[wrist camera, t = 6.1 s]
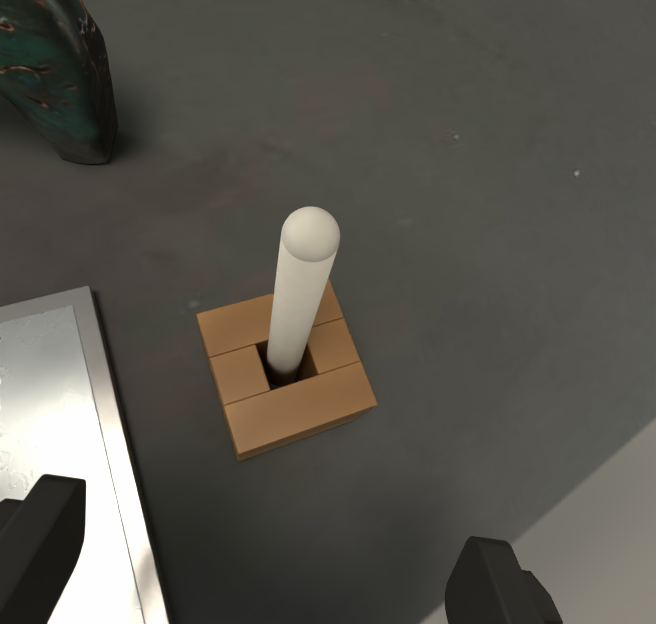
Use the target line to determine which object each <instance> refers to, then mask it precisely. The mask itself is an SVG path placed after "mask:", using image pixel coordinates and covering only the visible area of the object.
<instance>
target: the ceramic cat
mask: <svg viewBox="0 0 656 624" xmlns="http://www.w3.org/2000/svg"><path fill="white" fill-rule="evenodd" d="M0 94H1V95H2V96H4V97H5V98H6V99H7V100H9V101H10V102H11V103H12V104H13V105H14V106H15V107H16V108H17V109H18V110H19V112H20V113H21V114H22V115H23V116H24V117H25V118H26V120H28V121H29V122H30V123H31V124H32V125H33V126H34V127H35V128H36V129H37V130H38V131H39V132H40V133H41V135H42V136H43V137H44V138H45V140H46V141H47V142H48V143H49V144H50V145H51V146H52V148H53V149H54V150H55V151H56V152H57V153H58V155H59V156H60V158H62V159H66V160H70V161H72V162H75V163H82V164H99V163H106V162H107V161H108V160H109V158H110V155H111V151H112V146H113V139H114V137H115V134H116V131H117V129H118V123H117V114H116V109H115V103H114V96H113V89H112V81H111V76H110V71H109V63H108V57H107V51H106V47H105V42H104V38H103V36H102V34H101V32H100V30H99V28H98V26H97V25H96V23H95V22H94V20H93V19H92V17H91V16H90V14H89V13H88V11H87V9H86V8H85V6H84V4H83V2H82V0H0Z"/></svg>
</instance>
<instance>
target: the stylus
mask: <svg viewBox="0 0 656 624" xmlns="http://www.w3.org/2000/svg"><path fill="white" fill-rule="evenodd" d="M339 241H340V231H339V227H338V224H337V222H336V221H335V219H334V218H333V217H332V216H331V214H329V213H328V212H327V211H325V210H323V209H321V208H318V207H303V208H300V209H298V210H296V211H294V212H293V213H292V214H291V215H290V216H289V217H288V218H287V219H286V221H285V223H284V225H283V228H282V232H281V240H280V249H279V257H278V265H277V274H276V282H275V290H274V299H273V307H272V315H271V324H270V332H269V340H268V349H267V357H266V365H265V370H264V371H265V374H266V377H267V380H268V383H269V386H270V391H271V390H274V389H277V388H280V387H283V386H286V385H290V384H293V383H294V381H295V378H296V374H297V371H298V368H299V365H300V362H301V359H302V356H303V353H304V350H305V347H306V343H307V340H308V337H309V334H310V331H311V328H312V325H313V322H314V319H315V316H316V313H317V310H318V307H319V304H320V301H321V298H322V295H323V292H324V289H325V286H326V283H327V280H328V277H329V274H330V270H331V267H332V264H333V261H334V258H335V255H336V252H337V249H338V246H339Z"/></svg>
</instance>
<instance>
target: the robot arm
mask: <svg viewBox="0 0 656 624" xmlns="http://www.w3.org/2000/svg"><path fill="white" fill-rule="evenodd" d="M86 488H87V486H86V480H85V479H80V478H73V477H66V476H59V475H52V474H43V475H42V476H41V477H40V478H39V479H38V480H37V482H36V483H35V485H34V486H33V487H32V489H31V490H30V492H29V493H28V494H27V496H26V497H25V499H24V500H17V499H10V498H5V499H3V500H2V501H1V502H0V624H47V623H48V621H49V619H50V617H51V615H52V613H53V611H54V609H55V607H56V605H57V603H58V601H59V599H60V597H61V595H62V593H63V591H64V589H65V587H66V585H67V583H68V581H69V579H70V577H71V575H72V573H73V571H74V569H75V567H76V565H77V562H78V560H79V557H80V554H81V551H82V547H83V543H84V538H85V523H86ZM445 609H446V615H447V620H448V623H449V624H563V621H562V619H561V617H560V615H559V613H558V611H557V609H556V607H555V604H554V602H553V600H552V598H551V596H550V595H549V593H548V592H547V591H546V589H545V588H544V587H543V586H542V585H541V583H540V582H539V581H538V580H537V579H536V577H535V576H534V575H533V574H532V573H531V571H525V570H521V568H520V566H519V564H518V561H517V558H516V556H515V554H514V551H513V549H512V547H511V546H510V544H509V543H508V542H506V541H503V540H496V539H489V538H482V537H475V536H471V537H469V538H468V540H467V541H466V543H465V545H464V548H463V550H462V552H461V554H460V556H459V558H458V561H457V563H456V565H455V567H454V569H453V571H452V574H451V576H450V578H449V580H448V583H447V586H446V592H445Z"/></svg>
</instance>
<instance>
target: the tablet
mask: <svg viewBox="0 0 656 624" xmlns="http://www.w3.org/2000/svg"><path fill="white" fill-rule="evenodd" d="M43 474H52V475H59V476H66V477H73V478H80V479H85V480H86V486H87V488H86V523H85V538H84V543H83V547H82V551H81V554H80V557H79V560H78V562H77V565H76V567H75V569H74V571H73V573H72V575H71V577H70V579H69V581H68V583H67V585H66V587H65V589H64V591H63V593H62V595H61V597H60V599H59V601H58V603H57V605H56V607H55V609H54V611H53V613H52V615H51V617H50V619H49V621H48V623H47V624H174V622H173V618H172V614H171V610H170V605H169V601H168V597H167V593H166V589H165V585H164V581H163V576H162V572H161V568H160V564H159V560H158V556H157V552H156V547H155V543H154V539H153V535H152V531H151V527H150V523H149V518H148V514H147V510H146V506H145V502H144V498H143V494H142V489H141V485H140V481H139V477H138V473H137V469H136V465H135V460H134V456H133V452H132V448H131V444H130V440H129V436H128V431H127V427H126V423H125V419H124V415H123V411H122V407H121V402H120V398H119V394H118V390H117V386H116V382H115V378H114V373H113V369H112V365H111V361H110V357H109V353H108V349H107V344H106V340H105V336H104V332H103V328H102V324H101V319H100V315H99V311H98V307H97V303H96V299H95V295H94V292H93V291H92V289H91V288H90V286H89V285H87V286H83V287H79V288H75V289H71V290H66V291H62V292H58V293H54V294H50V295H46V296H42V297H38V298H33V299H29V300H25V301H21V302H17V303H13V304H9V305H5V306H0V502H1V501H2V500H3V499H5V498H10V499H17V500H24V499H25V497H26V496H27V494H28V493H29V492H30V490H31V489H32V487H33V486H34V485H35V483H36V482H37V480H38V479H39V478H40V477H41V476H42V475H43Z"/></svg>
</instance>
